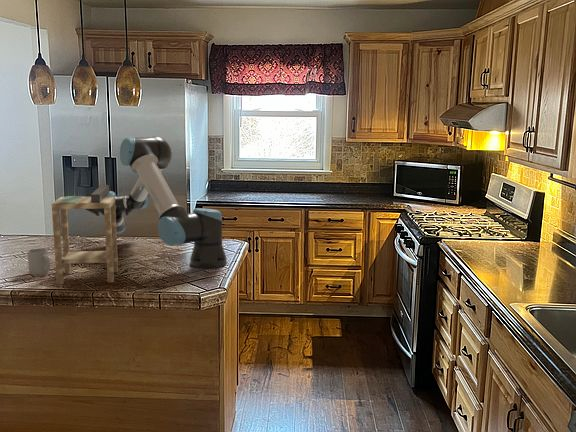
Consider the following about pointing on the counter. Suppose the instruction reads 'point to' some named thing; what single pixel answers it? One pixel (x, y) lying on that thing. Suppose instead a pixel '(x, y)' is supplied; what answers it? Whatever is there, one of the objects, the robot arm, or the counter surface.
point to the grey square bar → (99, 194)
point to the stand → (84, 256)
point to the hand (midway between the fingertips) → (107, 199)
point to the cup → (38, 261)
